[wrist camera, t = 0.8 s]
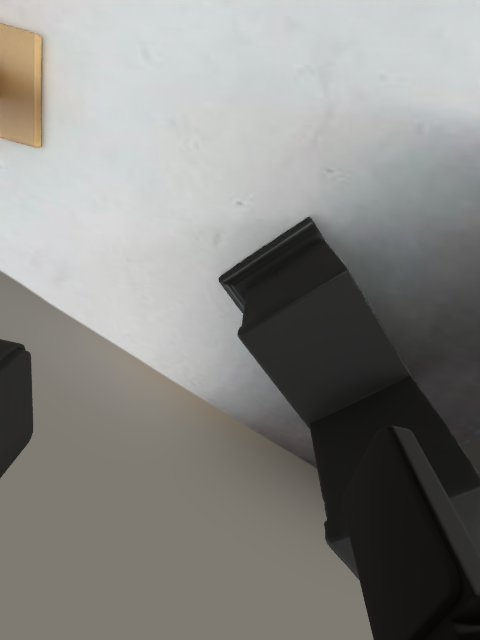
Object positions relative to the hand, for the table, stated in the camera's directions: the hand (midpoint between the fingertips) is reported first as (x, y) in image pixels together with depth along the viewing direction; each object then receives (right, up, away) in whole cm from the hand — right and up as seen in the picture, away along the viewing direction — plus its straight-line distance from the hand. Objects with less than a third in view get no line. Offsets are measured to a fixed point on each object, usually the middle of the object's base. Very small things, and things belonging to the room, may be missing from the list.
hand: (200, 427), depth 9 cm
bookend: (+10, +1, +28) cm, 30 cm away
